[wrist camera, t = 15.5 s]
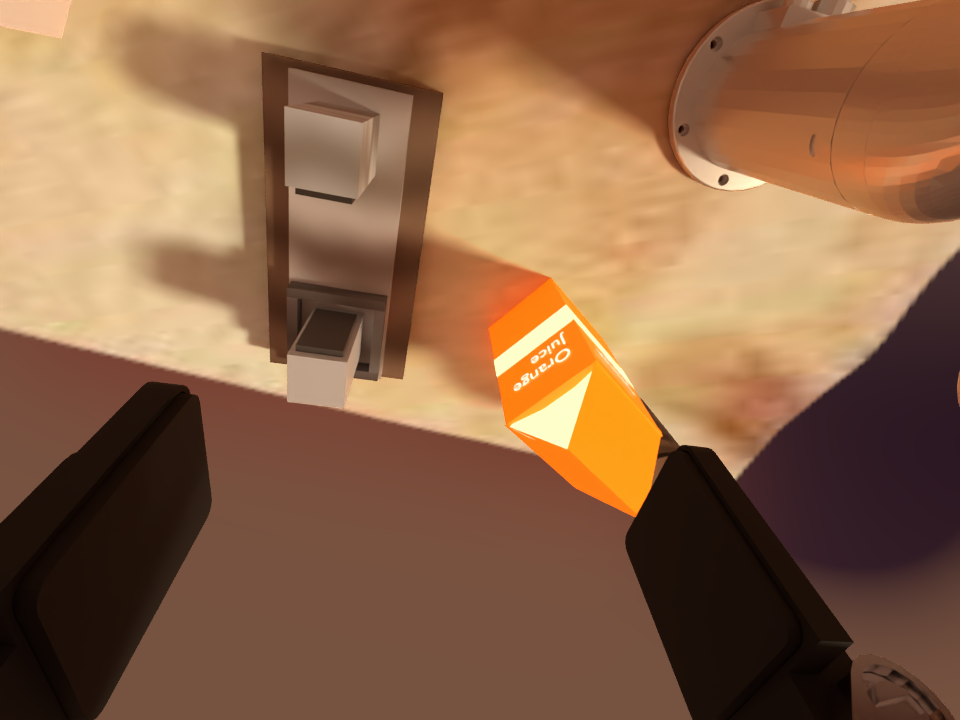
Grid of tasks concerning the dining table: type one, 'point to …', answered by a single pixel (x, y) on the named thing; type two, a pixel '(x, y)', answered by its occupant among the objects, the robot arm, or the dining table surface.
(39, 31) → the milk
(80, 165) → the dining table surface
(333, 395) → the white block dark cap
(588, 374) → the orange juice
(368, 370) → the rail board
